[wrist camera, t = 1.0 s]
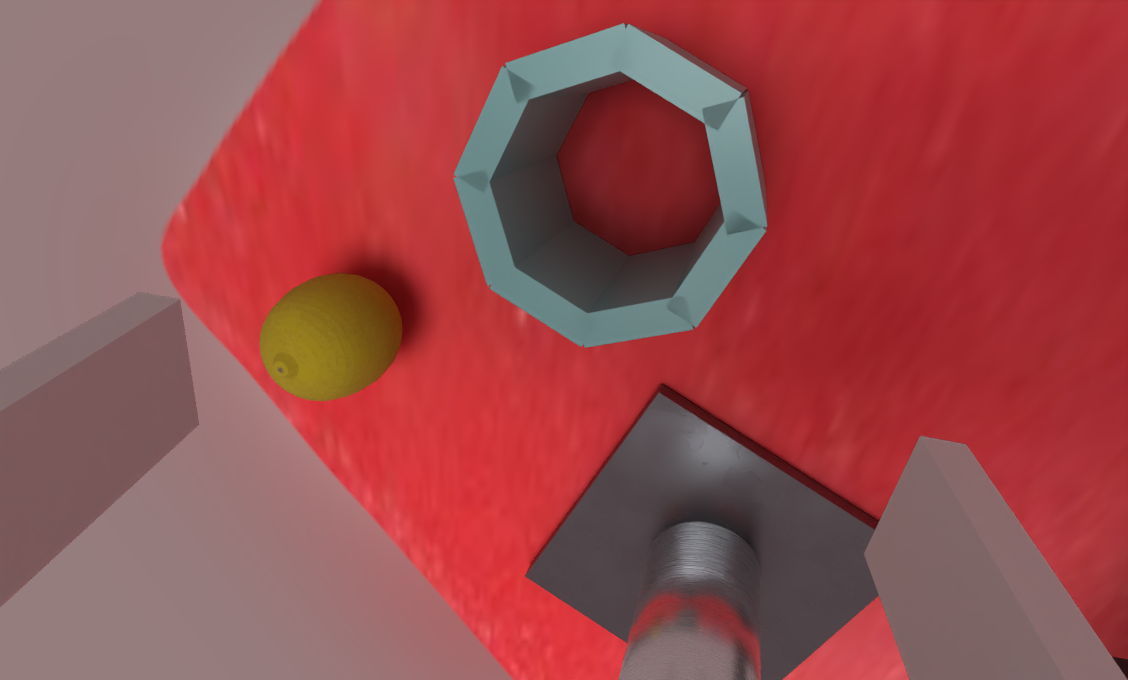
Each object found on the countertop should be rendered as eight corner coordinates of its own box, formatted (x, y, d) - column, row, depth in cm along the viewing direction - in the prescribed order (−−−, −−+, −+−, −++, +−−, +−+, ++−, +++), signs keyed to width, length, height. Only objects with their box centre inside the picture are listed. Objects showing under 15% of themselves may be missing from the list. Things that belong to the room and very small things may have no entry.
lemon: (317, 314, 35) (205, 374, 28) (360, 233, 33) (249, 277, 26) (399, 377, 36) (308, 453, 28) (448, 301, 33) (361, 364, 26)
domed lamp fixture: (915, 544, 31) (987, 763, 21) (740, 701, 37) (732, 926, 27) (662, 383, 32) (617, 523, 22) (530, 564, 38) (449, 737, 28)
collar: (809, 126, 26) (827, 146, 19) (676, 316, 30) (650, 391, 23) (603, 0, 26) (544, -29, 19) (501, 205, 30) (421, 245, 23)
